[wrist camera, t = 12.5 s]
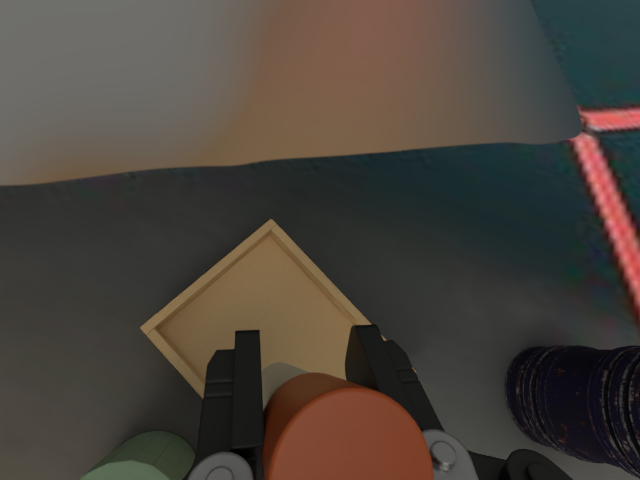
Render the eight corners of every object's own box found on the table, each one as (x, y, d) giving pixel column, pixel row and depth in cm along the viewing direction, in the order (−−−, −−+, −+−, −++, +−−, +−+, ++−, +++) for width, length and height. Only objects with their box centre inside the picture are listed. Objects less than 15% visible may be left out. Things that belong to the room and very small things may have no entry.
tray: (147, 328, 32) (139, 327, 30) (269, 226, 37) (271, 218, 35) (298, 499, 31) (302, 512, 29) (405, 370, 36) (416, 371, 33)
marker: (241, 387, 20) (227, 488, 6) (280, 348, 21) (353, 351, 7) (277, 427, 20) (356, 637, 5) (315, 386, 21) (467, 474, 6)
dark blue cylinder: (521, 327, 39) (730, 314, 22) (597, 375, 40) (860, 397, 23) (490, 416, 36) (707, 479, 19) (573, 467, 36) (860, 574, 19)
